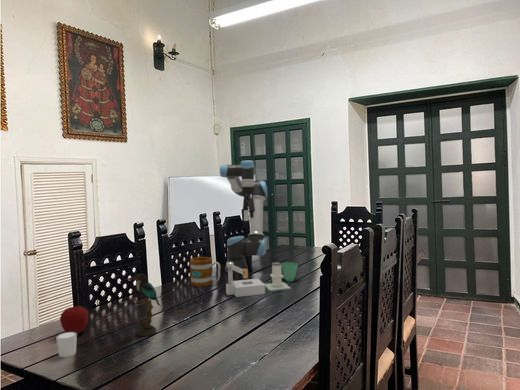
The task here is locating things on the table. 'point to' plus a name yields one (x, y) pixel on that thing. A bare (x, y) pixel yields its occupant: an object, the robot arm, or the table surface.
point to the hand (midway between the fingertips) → (248, 221)
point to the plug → (276, 275)
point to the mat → (272, 288)
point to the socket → (244, 286)
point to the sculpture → (148, 293)
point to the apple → (74, 319)
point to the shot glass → (66, 344)
